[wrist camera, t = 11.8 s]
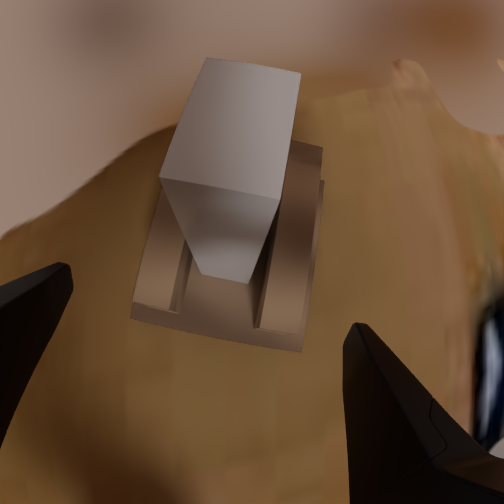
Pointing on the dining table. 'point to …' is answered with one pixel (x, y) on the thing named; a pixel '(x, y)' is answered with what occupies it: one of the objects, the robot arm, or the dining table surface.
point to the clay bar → (230, 163)
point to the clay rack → (232, 292)
